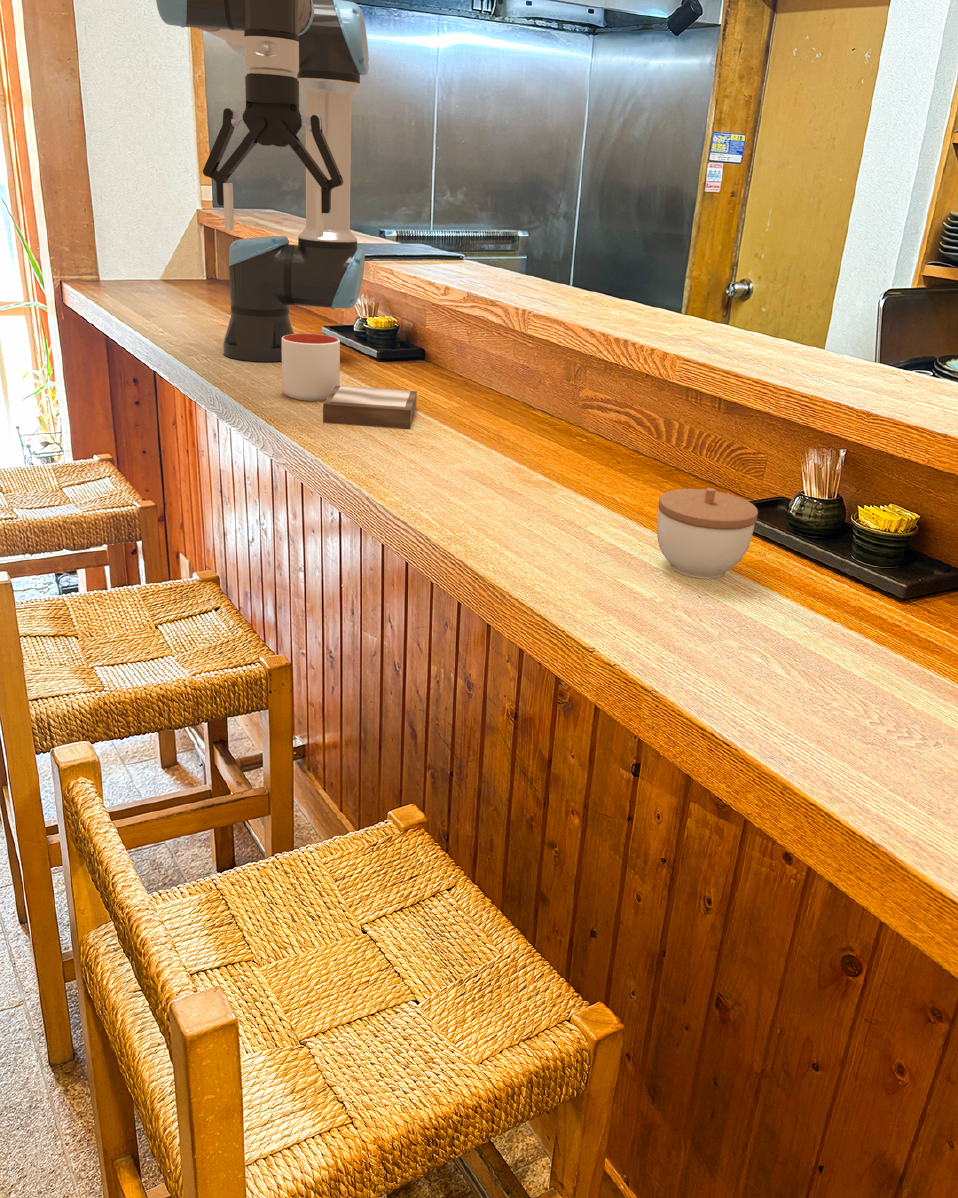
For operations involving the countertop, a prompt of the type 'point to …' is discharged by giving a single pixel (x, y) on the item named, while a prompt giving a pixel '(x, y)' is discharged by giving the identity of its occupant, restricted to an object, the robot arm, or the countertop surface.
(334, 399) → the stand
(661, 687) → the countertop surface
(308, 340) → the cup
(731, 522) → the lidded jar
